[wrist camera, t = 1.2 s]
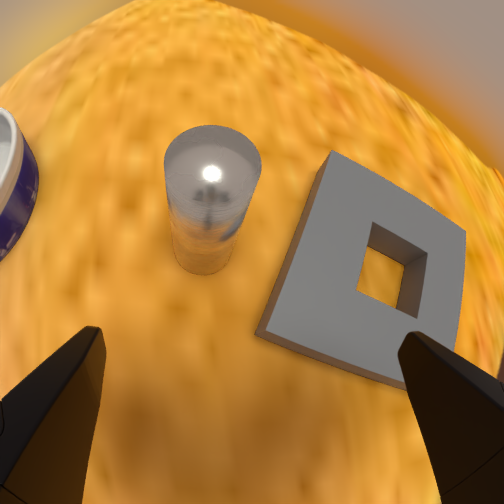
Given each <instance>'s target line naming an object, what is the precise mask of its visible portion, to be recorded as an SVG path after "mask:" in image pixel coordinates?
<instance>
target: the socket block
mask: <svg viewBox="0 0 504 504" xmlns="http://www.w3.org/2000/svg"><path fill="white" fill-rule="evenodd" d="M367 246H369V247H371V248H373V249H375V250H377V251H379V252H381V253H382V254H384V255H386V256H388V257H390V258H392V259H394V260H396V261H397V262H399V263H401V264H403V265H405V267H404V273H403V278H402V283H401V288H400V293H399V298H398V303H397V307H396V309H395V308H393V307H391V306H389V305H386V304H384V303H382V302H380V301H378V300H376V299H374V298H371V297H369V296H367V295H365V294H363V293H361V292H359V291H357V290H356V287H357V283H358V279H359V276H360V272H361V268H362V264H363V260H364V256H365V252H366V248H367ZM465 250H466V231H465V230H463V229H462V228H461V227H459V226H458V225H456V224H455V223H454V222H452V221H451V220H449V219H448V218H446V217H445V216H443V215H442V214H441V213H439V212H438V211H436V210H435V209H433V208H432V207H430V206H429V205H427V204H425V203H424V202H422V201H421V200H419V199H418V198H416V197H415V196H413V195H411V194H410V193H408V192H406V191H405V190H403V189H402V188H400V187H398V186H397V185H395V184H393V183H392V182H390V181H388V180H386V179H385V178H383V177H381V176H380V175H378V174H376V173H374V172H373V171H371V170H369V169H367V168H365V167H364V166H362V165H360V164H358V163H356V162H354V161H353V160H351V159H349V158H347V157H345V156H343V155H341V154H339V153H337V152H335V151H333V150H331V152H330V153H329V155H328V156H327V158H326V160H325V161H324V163H323V164H322V166H321V167H320V169H319V170H318V172H317V175H316V178H315V180H314V183H313V186H312V189H311V191H310V194H309V197H308V199H307V202H306V205H305V207H304V210H303V213H302V216H301V218H300V221H299V224H298V226H297V229H296V231H295V234H294V237H293V239H292V242H291V245H290V247H289V250H288V252H287V255H286V257H285V260H284V263H283V265H282V268H281V270H280V273H279V275H278V278H277V280H276V283H275V286H274V288H273V291H272V293H271V296H270V298H269V301H268V303H267V305H266V308H265V310H264V313H263V315H262V318H261V320H260V323H259V325H258V328H257V330H256V332H255V335H256V336H258V337H261V338H263V339H266V340H268V341H270V342H273V343H275V344H278V345H280V346H283V347H285V348H288V349H290V350H293V351H295V352H298V353H300V354H303V355H305V356H308V357H311V358H313V359H316V360H319V361H321V362H324V363H327V364H329V365H332V366H335V367H337V368H340V369H343V370H346V371H349V372H352V373H354V374H357V375H360V376H363V377H366V378H369V379H372V380H375V381H378V382H381V383H384V384H387V385H390V386H393V387H396V388H400V389H403V390H406V391H407V389H406V386H405V382H404V378H403V375H402V371H401V367H400V364H399V360H398V356H397V353H398V349H399V348H400V346H401V344H402V342H403V340H404V338H405V336H406V335H407V333H408V332H411V331H420V332H422V333H424V334H425V335H427V336H429V337H430V338H432V339H434V340H435V341H437V342H438V343H440V344H442V345H443V346H445V347H446V348H448V349H450V350H451V351H453V352H454V347H455V341H456V336H457V330H458V323H459V317H460V309H461V301H462V292H463V282H464V269H465Z"/></svg>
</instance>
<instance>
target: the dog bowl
mask: <svg viewBox="0 0 504 504" xmlns="http://www.w3.org/2000/svg"><path fill="white" fill-rule="evenodd" d="M38 181H39V176H38V167H37V163H36V160H35V158H34V156H33V153H32V151H31V150H30V148H29V146H28V144H27V142H26V140H25V138H24V136H23V134H22V132H21V130H20V129H19V127H18V124H17V122H16V121H15V119H14V117H13V116H12V114H11V113H10V112H9V111H7V110H6V109H4V108H1V107H0V261H1V260H2V259H3V258H4V257H5V256H6V255H7V254H8V253H9V251H10V250H11V249H12V248H13V246H14V245H15V244H16V242H17V241H18V239H19V237H20V236H21V234H22V232H23V231H24V229H25V227H26V225H27V223H28V220H29V218H30V216H31V213H32V210H33V207H34V204H35V200H36V196H37V191H38Z"/></svg>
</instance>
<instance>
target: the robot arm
mask: <svg viewBox="0 0 504 504" xmlns="http://www.w3.org/2000/svg"><path fill="white" fill-rule="evenodd" d="M397 356H398V360H399V364H400V367H401V371H402V375H403V378H404V382H405V386H406V389H407V393H408V396H409V399H410V402H411V405H412V408H413V410H414V413H415V416H416V419H417V422H418V425H419V428H420V431H421V434H422V437H423V440H424V443H425V446H426V449H427V452H428V455H429V459H430V462H431V465H432V469H433V472H434V476H435V479H436V483H437V486H438V490H439V494H440V498H441V502H442V504H504V384H503V383H502V382H499V380H497V379H496V378H494V377H493V376H491V375H489V374H488V373H486V372H485V371H483V370H482V369H480V368H478V367H477V366H475V365H474V364H472V363H470V362H469V361H467V360H466V359H464V358H463V357H461V356H459V355H458V354H456V353H455V352H453V351H451V350H450V349H448V348H446V347H445V346H443V345H442V344H440V343H438V342H437V341H435V340H434V339H432V338H430V337H429V336H427V335H425V334H424V333H422V332H420V331H411V332H408V333H407V335H406V336H405V338H404V340H403V342H402V344H401V346H400V348H399V349H398V353H397ZM105 362H106V347H105V342H104V338H103V333H102V330H101V328H99V327H94V326H86V327H84V328H83V329H82V330H80V331H79V332H78V333H77V334H76V335H74V336H73V337H72V338H71V339H70V340H68V341H67V342H66V343H65V344H64V345H62V346H61V347H60V348H59V349H58V350H57V351H55V352H54V353H53V354H52V355H51V356H49V357H48V358H47V359H46V360H45V361H44V362H43V363H41V364H40V365H39V366H38V367H37V368H36V369H34V370H33V371H32V372H31V373H30V374H29V375H28V376H27V377H25V378H24V379H23V380H22V381H21V382H20V383H19V384H18V385H16V386H15V387H14V388H13V389H12V390H11V391H10V392H9V393H8V394H6V395H5V396H4V397H3V398H2V401H0V504H82V500H83V492H84V485H85V479H86V473H87V467H88V461H89V455H90V450H91V445H92V440H93V435H94V430H95V425H96V421H97V416H98V412H99V407H100V400H101V392H102V384H103V376H104V369H105Z"/></svg>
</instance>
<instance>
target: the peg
mask: <svg viewBox="0 0 504 504" xmlns="http://www.w3.org/2000/svg"><path fill="white" fill-rule="evenodd" d="M261 166H262V165H261V158H260V155H259V152H258V150H257V149H256V147H255V146H254V144H253V143H252V142H251V141H250V140H249V139H248V138H247V137H246V136H244V135H243V134H241V133H240V132H238V131H236V130H233V129H231V128H228V127H223V126H217V125H205V126H199V127H195V128H192V129H189V130H187V131H185V132H183V133H181V134H180V135H179V136H177V137H176V138H175V139H174V140H173V141H172V142H171V144H170V145H169V147H168V149H167V151H166V153H165V157H164V171H165V181H166V191H167V200H168V209H169V217H170V225H171V233H172V240H173V248H174V254H175V257H176V259H177V261H178V263H179V264H180V265H181V266H182V267H183V268H184V269H185V270H187V271H188V272H190V273H193V274H196V275H209V274H213V273H215V272H217V271H219V270H220V269H222V268H223V267H224V266H225V264H226V263H227V262H228V260H229V257H230V255H231V252H232V249H233V247H234V244H235V241H236V238H237V236H238V233H239V230H240V228H241V225H242V222H243V219H244V217H245V214H246V211H247V209H248V206H249V203H250V201H251V198H252V195H253V193H254V190H255V187H256V185H257V182H258V180H259V177H260V174H261Z"/></svg>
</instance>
